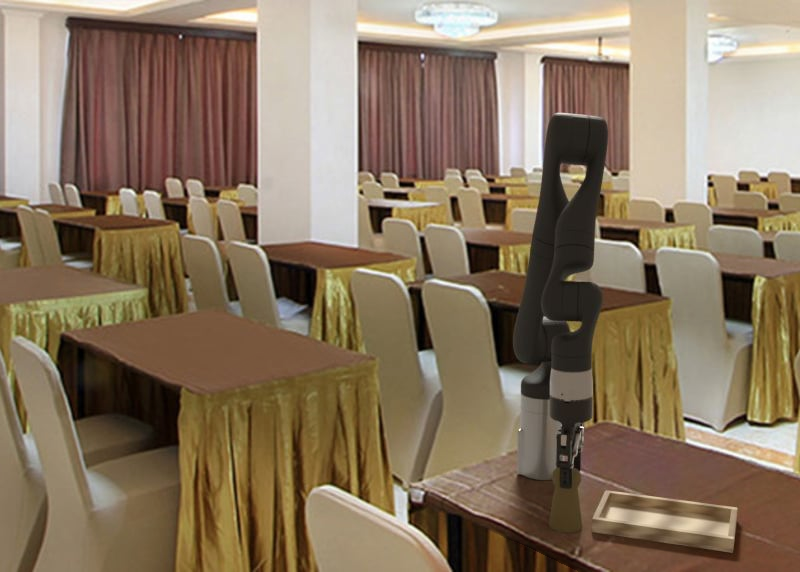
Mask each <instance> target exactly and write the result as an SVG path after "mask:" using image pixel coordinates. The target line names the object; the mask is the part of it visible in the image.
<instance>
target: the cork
mask: <svg viewBox="0 0 800 572" xmlns="http://www.w3.org/2000/svg"><path fill="white" fill-rule="evenodd" d="M581 475H582V474H581V471H580V472H579V470H577V469H576V468H574V467H573V486H572V488H571V489H566V488H561V487H560V468H556V469H555V470H554V471H553V473H552V483H553V485H554V489H553V493H552V494H553V495H552V501H551V502H552V503H551V509H550V515H549V521H548V526H549V528H550V529H551V530H553V531H555V532H558V533H565V534H569V533H576V532H577V533H578V532H579V531H580V530H582V529H583V523H582V522H583V521H582V514H581V513H582V512H581V503H580V495H579V486H580V484H581V482H582V476H581Z"/></svg>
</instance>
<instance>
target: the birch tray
mask: <svg viewBox="0 0 800 572" xmlns="http://www.w3.org/2000/svg"><path fill="white" fill-rule="evenodd" d="M591 520H592V521H591V532H592V533H597V534H604V535H609V536H611V535H612V536H618V537H624V538H625V537H626V538H630V539H638V540H642V541H643V540H644V541H649V542H650V541H652V542H658V543H662V544H663V543H665V544H670V545H671V544H673V545H676V546H677V545H679V546H683V547H691V548H697V549H698V548H699V549H704V550H705V549H706V550H709V551H711V550H712V551H719V552H723V553H724V552H725V553H731V554H734V547H735V538H736V530H737V521H738V507H737V506H736V507H735V506H728V505H719V504H713V503H704V502H697V501H692V500H691V501H690V500H683V499H675V498H674V499H673V498H667V497H660V496H652V495H645V494H644V495H643V494H638V493H637V494H636V493H630V492H621V491H615V490H614V491H613V490H607V489H606V490H605V491H604V493H603V495H602V497H601V500H600V501H599V503H598V506H597V508H596V509H595V511H594V514H593V516H592V519H591Z"/></svg>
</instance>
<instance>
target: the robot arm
mask: <svg viewBox="0 0 800 572" xmlns="http://www.w3.org/2000/svg"><path fill="white" fill-rule="evenodd" d="M545 135H546V136H545V143H544V150H543V151H544V152H543V153H544V154H543V163H542V172H541V180H540V181H541V182H540V190H539V191H540V192H539V198H538V203H537V209H536V214H535V221H534V224H533V228H532V234H531V241H530V249H529V258H528V264H527V270H526V277H525V283H524V288H523V292H522V297H521V300H520V304H519V307H518V312H517V315H516V319H515V324H514V326H513V327H514V329H513V334H512V347H513V352H514V355H515V357H516V359H517V360H518V361H519V362H521V363H523V364H538V363H540V365H539V366H538V367H537V368H536V369H535V370H534V371H531V373H529V374H528V375H525V376H524V377H523V378H522V379H521V382H520V418H519V421H520V423H519V424H520V426H519V428H518V430H517V440H516V441H517V444H516V445H517V448H516V449H517V451H516V452H517V453H516V458H517V459H516V461H517V462H516V474H517V475H522V476H523V477H526V478H528V479H531V480H538V481H550V480H552V473H553V471H554V470H555V469H556V468H560V487H561V488H566V489H571V488H572V486H573V467H574V468H576V469H577V470H579V472H580V473H581V470H582V452H583V450H584V447H583V446H584V445H585V423H587V422H588V421H590V420H591V419H592V418H593V406H594V405H593V400H594V399H593V398H594V397H593V396H594V395H593V394H594V393H593V392H594V391H593V390H594V389H593V388H594V381H593V370H592V369H593V368H592V358H593V357H592V355H593V354H592V352H593V342H594V341H593V339H594V334H595V330H596V326H597V325H598V323H597V322H598V319H599V317H600V315H601V310H602V307H603V305H604V304H603V303H604V294H603V291H602V289H601V288H600V286H599V285H598V284H597V283H595V282H593V281H573V280H572V281H571V280H568V281H566V280H567V278H568V277H570V276H572V275H576V274H578V273H579V274H580V273H584V272H586V271H589V270H591V269H592V267H593V266H594V262H595V243H596V242H595V241H596V223H597V214H598V210H599V209H598V207H599V202H600V198H601V197H600V195H601V193H602V186H603V179H604V174H605V173H604V172H605V165H606V159H607V153H608V145H609V127H608V123H607V121H606V120H605V118H604V117H601V116H597V115H596V116H595V115H588V114H580V113H579V114H577V113H568V112H567V113H566V112H555V113H553V114H552V116H551V117H550V120H549V122H548V124H547V129H546V134H545ZM561 164H563V165H564V164H566V165H573V166H574V165H575V166H576V165H577V166H585V167H586V172H585V177H584V179H583V181H582V183H581V185H580V186H579V188H578V190H576V192H575V194H574V195H573V196H572V198H571V199H570V200H569V198H568V197H567V193H566V191H565V189H564V185H563V182H562V178H561ZM568 322H579V323H581V325H580V327H579V328H578V329H576V330H572V331H571V330H570V326H569V323H568ZM565 457H567V461H566V460H565ZM552 481H553V480H552Z"/></svg>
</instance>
